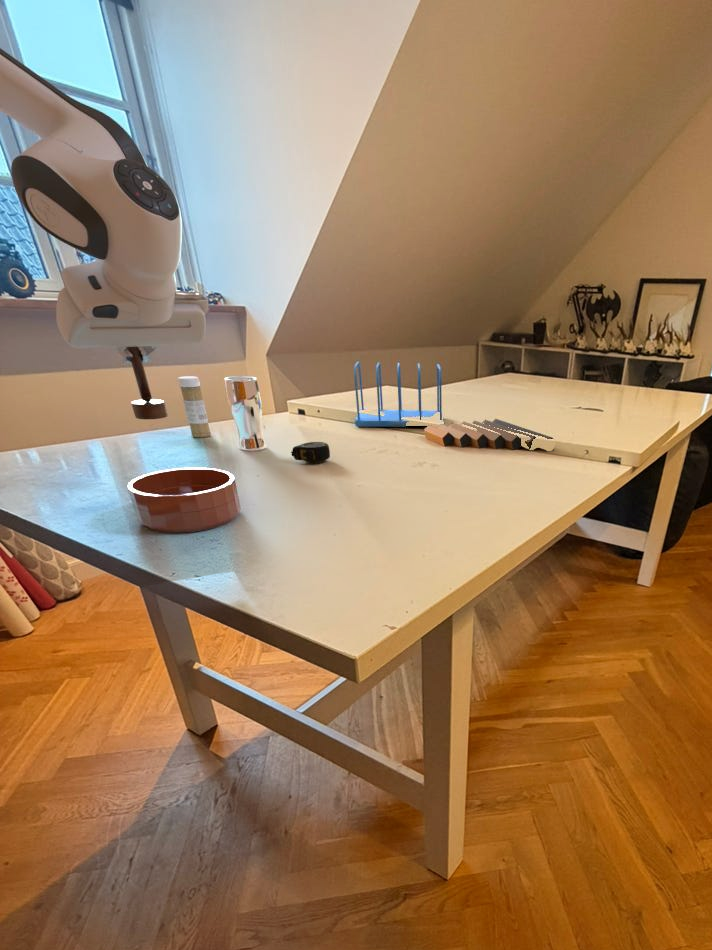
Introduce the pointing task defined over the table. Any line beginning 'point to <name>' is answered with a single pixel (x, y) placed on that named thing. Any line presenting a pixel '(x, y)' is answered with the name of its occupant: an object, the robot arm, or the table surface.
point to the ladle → (145, 392)
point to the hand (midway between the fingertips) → (134, 359)
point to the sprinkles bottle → (194, 406)
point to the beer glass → (246, 411)
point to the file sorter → (394, 416)
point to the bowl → (185, 499)
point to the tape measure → (311, 452)
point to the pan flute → (480, 435)
